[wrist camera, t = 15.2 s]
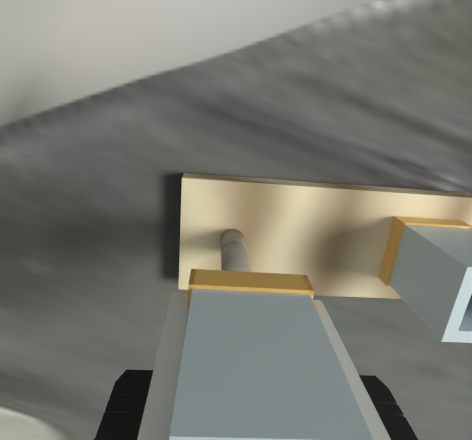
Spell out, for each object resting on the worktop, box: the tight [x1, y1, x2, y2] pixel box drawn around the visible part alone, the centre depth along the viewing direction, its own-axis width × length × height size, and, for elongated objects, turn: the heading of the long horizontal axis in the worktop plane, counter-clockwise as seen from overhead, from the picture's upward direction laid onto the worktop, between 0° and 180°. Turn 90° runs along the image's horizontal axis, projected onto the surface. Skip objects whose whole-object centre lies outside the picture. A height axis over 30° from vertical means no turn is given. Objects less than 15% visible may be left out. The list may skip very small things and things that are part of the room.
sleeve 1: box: [169, 269, 374, 440], centre depth 11 cm, size 5×5×7 cm
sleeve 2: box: [379, 216, 472, 343], centre depth 21 cm, size 5×5×7 cm
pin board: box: [179, 173, 472, 299], centre depth 22 cm, size 20×8×6 cm, turn 85°
